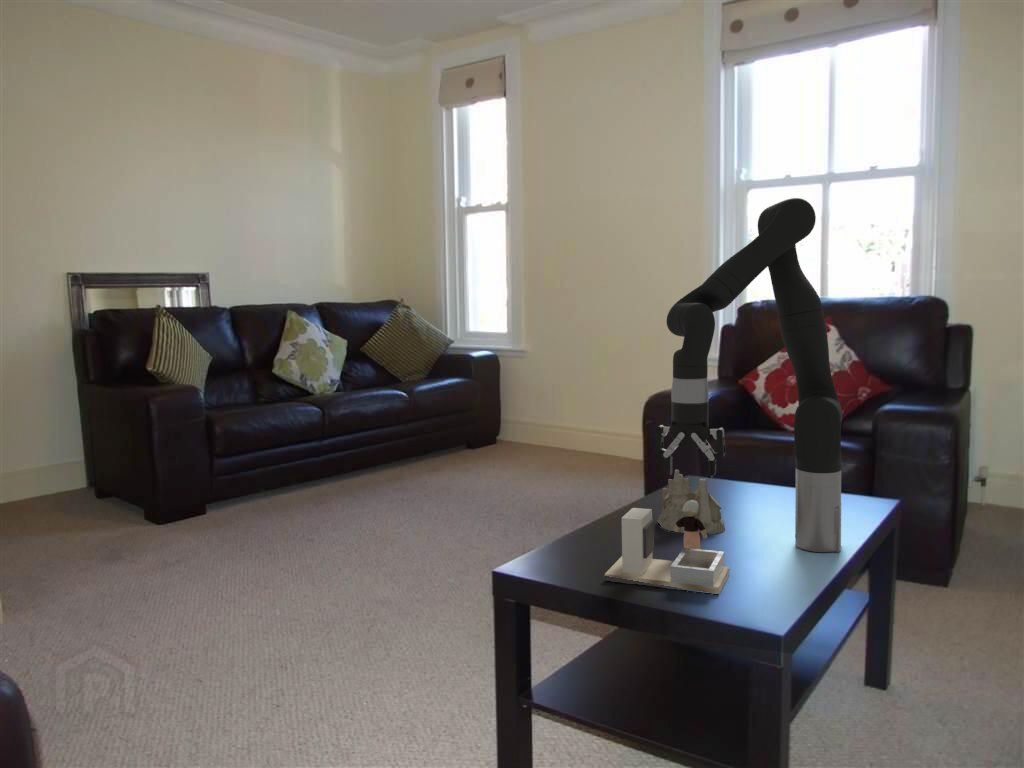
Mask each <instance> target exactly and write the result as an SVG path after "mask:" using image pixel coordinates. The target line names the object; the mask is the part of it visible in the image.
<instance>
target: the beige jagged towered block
mask: <svg viewBox="0 0 1024 768" xmlns="http://www.w3.org/2000/svg"><path fill="white" fill-rule="evenodd" d="M689 481H690V480H689V477H688V478H685V477H684V476H683V474H682V473H680V470H679V469H675V470H674V474H673V478H672V479H671V478H668V479H667V488H666V487H663V488H662V490H661V491H662V494H661V495H662V496H661V498H662V499H661V501H662V506H661V513H660V514H659V515H658V518H657V522H658V523H659V524H660V525H661V526H662V527H663V528H665V529H668V530H671V531H674V528H675V526H676V522H677V521H678V520H679V519H681V518H682V517H687V515H686V513H685V512H683V510H682V509H683V506H684V504H685V503H686V502H687V501H690V500H694V501H697V503H698V513H697V515H696V516H695V518H698V519H699V520H701V522H702V524H703V525H704V527H705V530H706V534H707V535H716V534H717V533H718V534H722V533H724V532H725V531H726V526H725V521H724V519H722V512H721V509H722V506H721V505H720V503H719V502H718V500H717V499H715V497H713V496H712V495H711V494H710V492H708V484H707V479H705V478H699V480H698V486H697V488H696V489H695V490H694V492H692V489H693V487H691V486H690V482H689ZM658 523H657V524H658ZM678 532H681V533H680V534H683V533H684V527H680V529H679V531H678ZM699 533H701V531H700V530H699Z"/></svg>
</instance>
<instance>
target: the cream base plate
mask: <svg viewBox="0 0 1024 768" xmlns="http://www.w3.org/2000/svg"><path fill="white" fill-rule="evenodd" d="M674 561H675V560H668V559H660V558H659V559H657V558H653V562H652V563H651V565H650V566H649V567H648V568H647V570H646V571H645V572H644V573H643V575H640V574H631V573H623V572H622V555H621V556H620V557H619V558H618V560H616V561H615V563H613V565H612V566H611V567H610V568H609V569H608V570H607V571H606V572H605V573H604V577H605V576H609V577H616V578H622V579H627V580H633V581H639V582H644V583H650V584H655V585H656V584H657V585H664V586H671V587H677V588H682V589H689V590H695V591H703V592H709V593H717V594H719V593H720V594H721V592H722V590H723V588H724V586H725V584H726V582H727V580H728V578H729V576H730V574H731V573H730V570H731V569H730V566H725V565H724V568H723V570H722V572H721V574H720V576H719V577H718V579H717V581H716V583H715V585H714V587H711V586H702V585H694V584H685V583H677V582H671V573H670V566H671V565H672V564H673V562H674ZM687 566H688V567H697V568H706V569H709V568H710V567H709V566H700V565H691V564H688V565H687ZM729 573H730V574H729ZM728 575H729V576H728ZM727 577H728V578H727ZM726 579H727V580H726ZM725 581H726V582H725ZM724 583H725V584H724ZM723 585H724V586H723ZM722 587H723V588H722ZM721 589H722V590H721ZM720 591H721V592H720ZM720 594H719V595H720Z"/></svg>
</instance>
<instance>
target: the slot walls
mask: <svg viewBox="0 0 1024 768" xmlns="http://www.w3.org/2000/svg"><path fill="white" fill-rule="evenodd" d="M673 561H674V562H673V564H672V565H671V566H670V573H671V582H677V583H685V584H694V585H702V586H711V587H714V585H715V583H716V581H717V579H718V577H719V576H720V574H721V572H722V570H723V568H724V566H725V551H720V550H712V549H711V550H710V549H702V548H700V549H691V548H684V547H683V549H682V550H681V551H680V553H679V554H678V555H677V557H676V558H675V560H673ZM688 564H691V565H700V566H709V567H710V568H709V569H706V568H697V567H688V566H687V565H688Z"/></svg>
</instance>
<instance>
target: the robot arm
mask: <svg viewBox="0 0 1024 768" xmlns="http://www.w3.org/2000/svg"><path fill="white" fill-rule="evenodd" d="M816 218H817V217H816V212H815V209H814V207H813V205H812V204H811V203H810V202H809V201H808V200H806V199H803V198H799V197H791V198H787V199H784V200H781V201H779V202H777V203H775V204H772V205H770V206H768V207H767V208H765V209H764V210H762V212H760V214H759V216H758V220H757V232H758V235H757V236H756V237H755V238H754V239H753V240H752V241H750V243H748V244H747V245H745V246H744V247H743V248H741V249H740V250H739V251H737V252H736V253H735V254H733V255H732V256H730V257H729V258H728V259H726V260H725V261H724V262H722V264H721V265H720V266H718V267H717V268H716V269H715V270H714V271H713V272H712V274H710V275H709V276H708V278H707V279H706V280H705V281H704V282H703V283H702V284H701V285H698V286H697V287H696V288H695V289H693V290H692V291H690V292H688V293H687V294H686V295H684V296H683V297H682V298H680V299H678V301H676V302H675V303H674V304H673V305H672V307H671V308H670V309H669V311H668V313H667V316H666V327H667V329H668V330H669V332H670V333H671V334H673V335H674V336H677V337H683V341H682V347H681V348H679V349H677V350H676V351H675V352H674V354H673V357H672V382H671V394H670V398H671V425H669V426H665V425H664V424H659V425H658V426H656V429H655V442H654V443H655V445H654V453H655V454H656V455H660V456H661V457H663V471H664V473H666V475H667V476H672V475H673V473H674V472H673V471H674V469H673V459H674V457H673V456H672V454H673V453H674V452H675V451H676V449H677V448H678V447H680V448H682V449H687V448H690V449H693V450H694V449H695V450H697V449H700V450H701V452H702V453H704V454H705V456H706V457H707V459H708V460H707V479H713V478H714V476H715V475H716V473H717V460H719V459H723V458H724V457H725V456H726V454H727V453H726V438H725V437H726V436H725V433H726V432H725V428H723V427H719V428H710V425H709V424H710V423H709V420H710V419H709V418H710V417H709V412H710V411H709V408H710V407H709V405H710V403H709V402H710V401H709V397H710V396H709V395H710V394H709V393H710V389H709V388H710V386H709V383H708V382H709V381H708V379H709V378H708V358H709V357H708V356H709V354H710V351H711V348H712V343H713V339H714V334H715V327H716V320H715V314H714V312H718V311H721V310H724V309H726V308H727V307H728V306H730V304H731V303H732V302H733V301H735V300H736V298H737V297H739V295H741V294H742V292H744V290H745V289H746V288H747V287H748V286H750V284H751V283H753V281H754V280H755V279H756V278H757V277H758V276H759V275H761V273H762V272H763V271H764V270H766V269H768V272H769V276H770V281H771V286H772V290H773V291H772V292H773V295H774V296H773V297H774V299H775V306H776V313H777V319H778V325H779V329H780V330H779V331H780V335H781V339H782V341H783V344H784V345H783V346H784V347H785V350H786V351H785V352H786V354H787V356H788V358H789V361H790V363H791V366H792V369H793V371H794V375H795V379H796V389H797V398H798V406H797V407H796V410H795V412H794V418H793V420H794V421H793V439H794V440H793V441H794V442H793V443H794V444H793V447H794V449H793V450H794V451H793V452H794V457H795V510H794V511H795V512H794V513H795V516H794V519H795V521H794V522H795V528H794V530H795V531H794V532H795V534H794V537H795V541H794V542H795V546H796V547H797V548H798V549H801V550H804V551H808V552H813V553H814V552H816V553H832V552H834V553H836V552H837V553H840V552H841V546H842V451H841V446H842V443H841V441H842V439H841V438H842V431H841V430H842V421H843V417H844V416H843V415H844V414H843V408H842V406H841V402H840V400H839V396H838V393H837V389H836V387H835V384H834V380H833V376H832V371H831V365H830V351H829V349H830V348H829V342H828V341H829V340H828V333H827V325H826V320H825V315H824V309H823V304H822V300H821V298H820V296H819V294H818V293H817V291H816V290H815V287H814V286H813V284H811V282H810V280H808V278H807V276H806V275H805V274H804V272H803V270H802V268H801V266H800V265H801V264H800V261H799V259H798V258H799V257H798V252H797V244H798V243H799V242H801V241H802V240H804V239H806V237H807V236H809V235H810V234H811V233H812V231H813V230H814V227H815V225H816ZM668 433H669V434H670V435H671V437H672V438H673V441H672V442H671V443H670V445H669V446H668V447H667V448H665V447H664V445H665V443H664V442H665V437H666V436H667V435H668ZM710 435H712V437H713V439H714V440H716V449H717V450H716V452H715V450H714V448H712V446H711V444H710V443H709V441H708V440H707V439H708V438H709V437H710Z"/></svg>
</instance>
